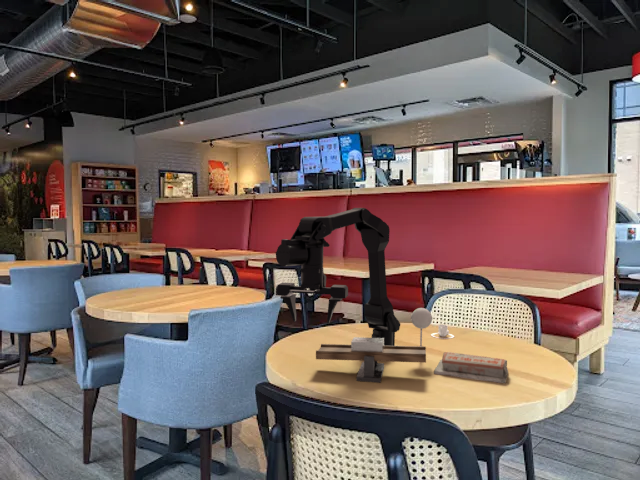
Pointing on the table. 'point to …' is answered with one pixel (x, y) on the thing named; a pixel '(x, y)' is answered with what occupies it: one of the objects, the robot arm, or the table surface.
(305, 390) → the table surface
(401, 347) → the beam
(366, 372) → the stand
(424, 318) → the lollipop
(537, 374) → the table surface
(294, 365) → the table surface
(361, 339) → the block
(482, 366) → the packaged product
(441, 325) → the teacup and saucer
